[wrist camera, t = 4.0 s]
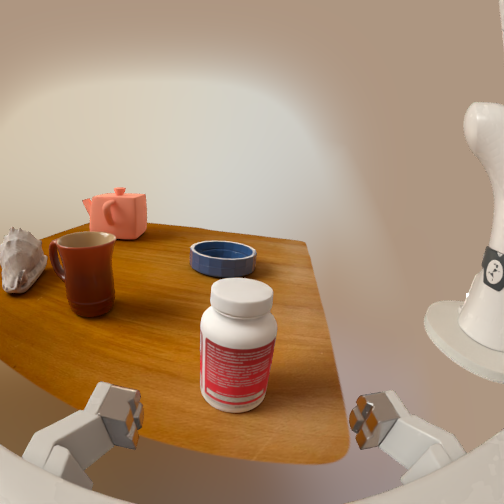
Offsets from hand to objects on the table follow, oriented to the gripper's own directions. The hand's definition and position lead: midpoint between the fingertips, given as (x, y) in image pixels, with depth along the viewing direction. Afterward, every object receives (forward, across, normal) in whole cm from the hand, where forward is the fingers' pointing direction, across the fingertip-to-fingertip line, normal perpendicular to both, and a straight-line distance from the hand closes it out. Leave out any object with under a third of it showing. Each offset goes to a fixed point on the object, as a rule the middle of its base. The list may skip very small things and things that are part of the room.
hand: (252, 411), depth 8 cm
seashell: (+30, +39, +12) cm, 51 cm away
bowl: (+47, +2, +11) cm, 49 cm away
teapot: (+67, +36, +12) cm, 77 cm away
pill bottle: (+12, 0, +12) cm, 17 cm away
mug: (+25, +22, +12) cm, 35 cm away
